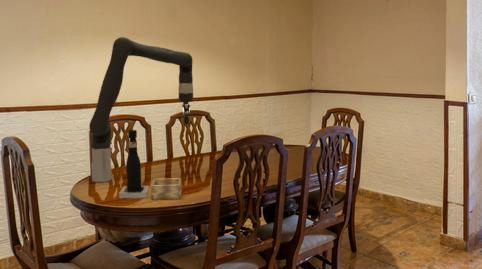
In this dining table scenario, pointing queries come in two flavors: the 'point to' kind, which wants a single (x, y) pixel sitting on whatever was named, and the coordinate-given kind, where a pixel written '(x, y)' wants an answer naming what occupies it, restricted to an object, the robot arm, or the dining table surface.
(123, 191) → the grey square tray
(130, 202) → the dining table surface
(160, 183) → the crate
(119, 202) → the dining table surface
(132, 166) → the wine bottle
